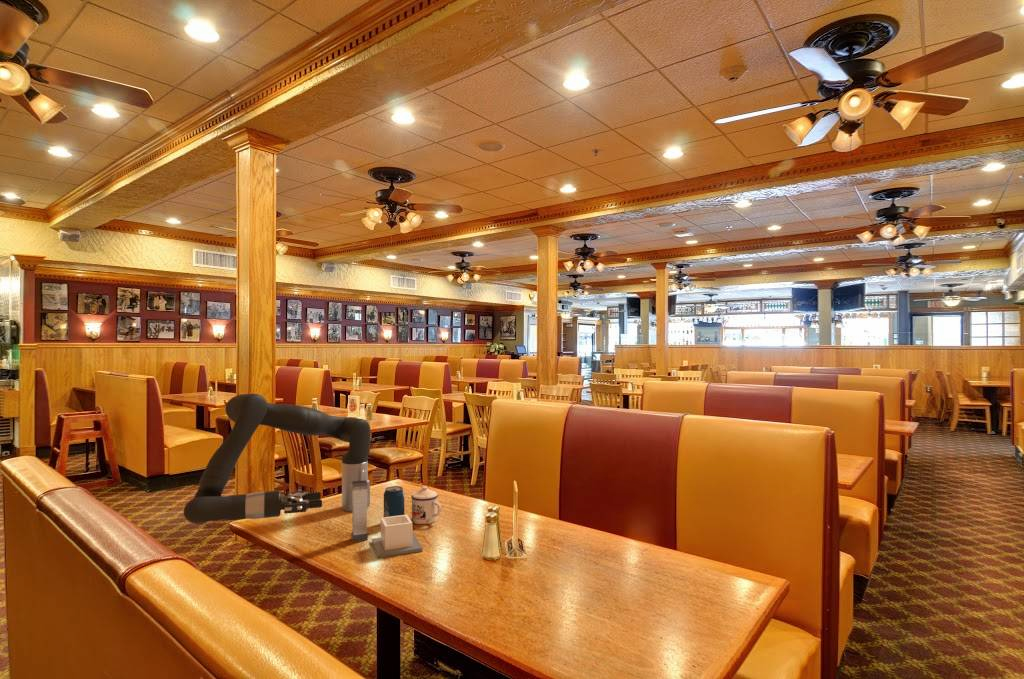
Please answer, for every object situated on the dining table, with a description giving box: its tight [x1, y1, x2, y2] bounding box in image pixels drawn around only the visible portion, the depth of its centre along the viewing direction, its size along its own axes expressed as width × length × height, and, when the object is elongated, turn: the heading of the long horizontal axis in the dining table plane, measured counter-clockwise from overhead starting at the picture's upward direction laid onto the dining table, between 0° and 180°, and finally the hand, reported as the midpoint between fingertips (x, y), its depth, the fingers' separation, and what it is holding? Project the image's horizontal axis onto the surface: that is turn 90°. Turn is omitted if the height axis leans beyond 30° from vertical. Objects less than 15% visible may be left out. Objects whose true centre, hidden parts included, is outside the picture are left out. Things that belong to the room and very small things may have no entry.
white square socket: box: [371, 514, 423, 559], centre depth 165 cm, size 13×13×8 cm
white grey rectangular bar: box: [351, 480, 369, 543], centre depth 171 cm, size 3×4×18 cm, turn 112°
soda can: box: [383, 485, 405, 517], centre depth 185 cm, size 7×7×12 cm
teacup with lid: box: [410, 485, 442, 525], centre depth 187 cm, size 12×9×12 cm
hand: (321, 499), depth 166 cm, fingers open, 8 cm apart
